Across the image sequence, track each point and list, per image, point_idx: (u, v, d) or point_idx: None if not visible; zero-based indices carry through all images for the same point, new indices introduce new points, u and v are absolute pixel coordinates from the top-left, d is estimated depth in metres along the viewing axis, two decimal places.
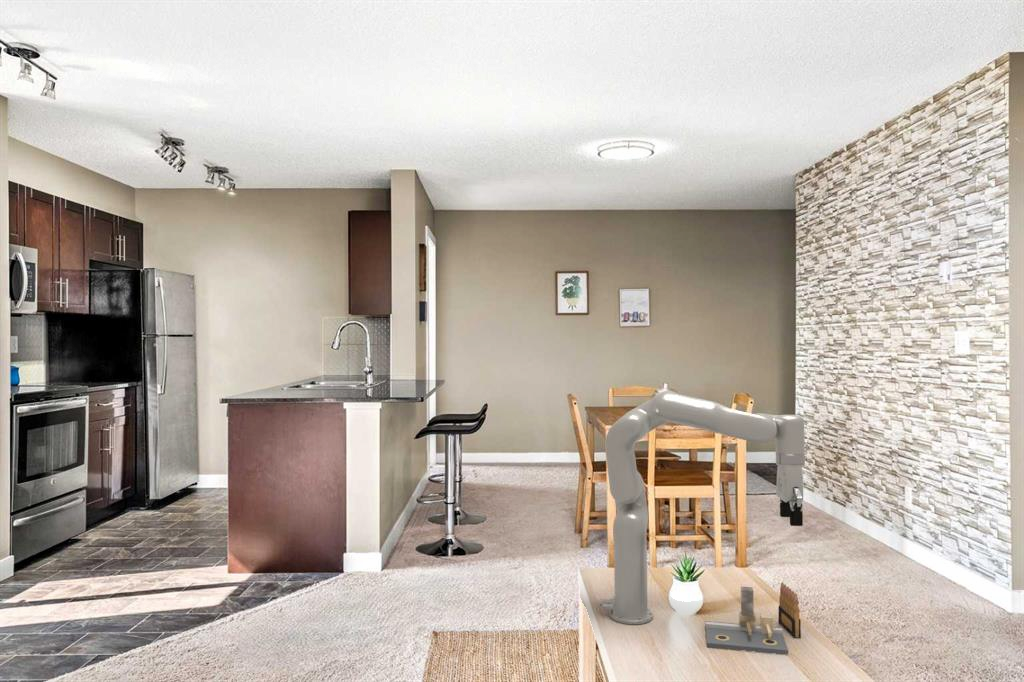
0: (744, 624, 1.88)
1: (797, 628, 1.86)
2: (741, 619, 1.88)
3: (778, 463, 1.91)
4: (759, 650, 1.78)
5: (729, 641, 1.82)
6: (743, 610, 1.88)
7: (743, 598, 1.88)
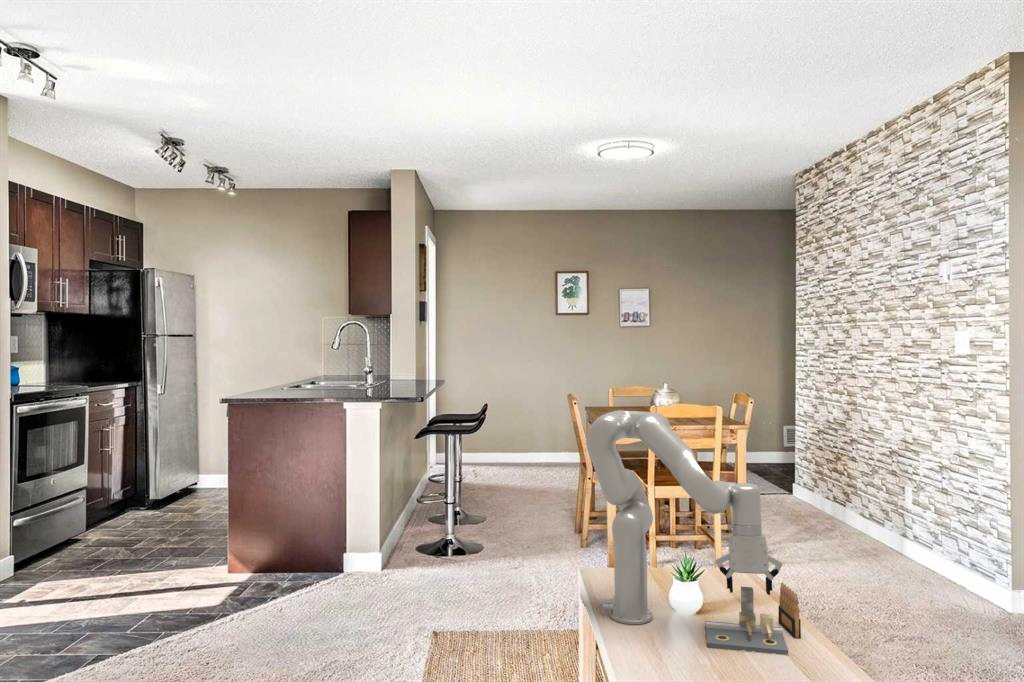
0: (744, 624, 1.88)
1: (797, 628, 1.86)
2: (741, 619, 1.88)
3: (753, 536, 1.86)
4: (759, 650, 1.78)
5: (729, 641, 1.82)
6: (743, 610, 1.88)
7: (743, 598, 1.88)
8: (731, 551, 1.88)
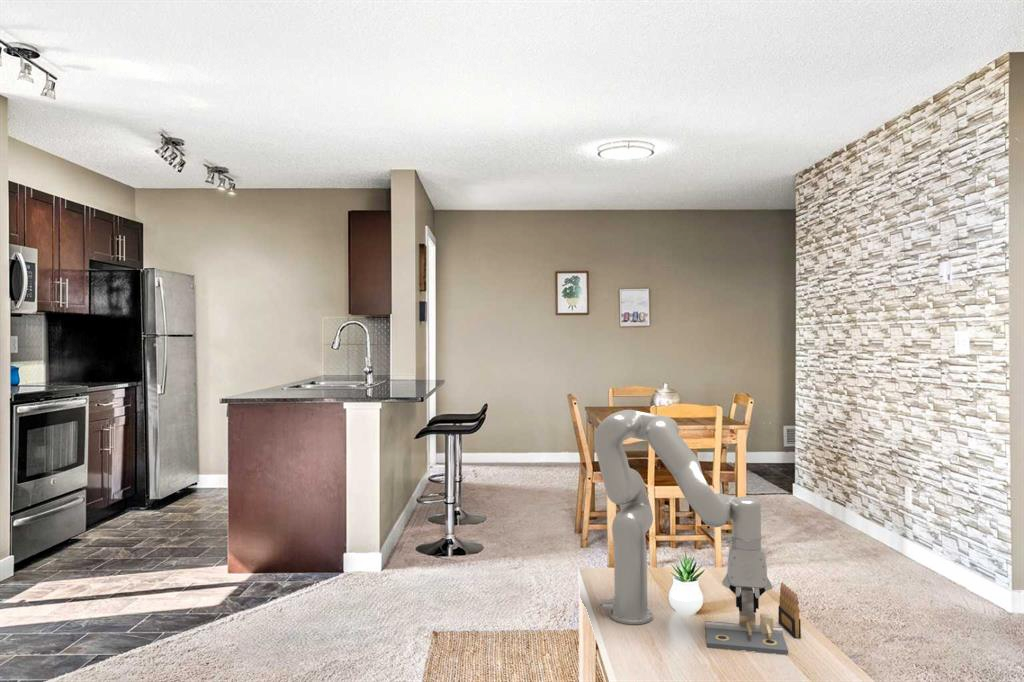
0: (744, 624, 1.88)
1: (797, 628, 1.86)
2: (741, 619, 1.88)
3: (752, 550, 1.86)
4: (759, 650, 1.78)
5: (729, 641, 1.82)
6: (743, 610, 1.88)
7: (743, 598, 1.88)
8: (730, 565, 1.88)
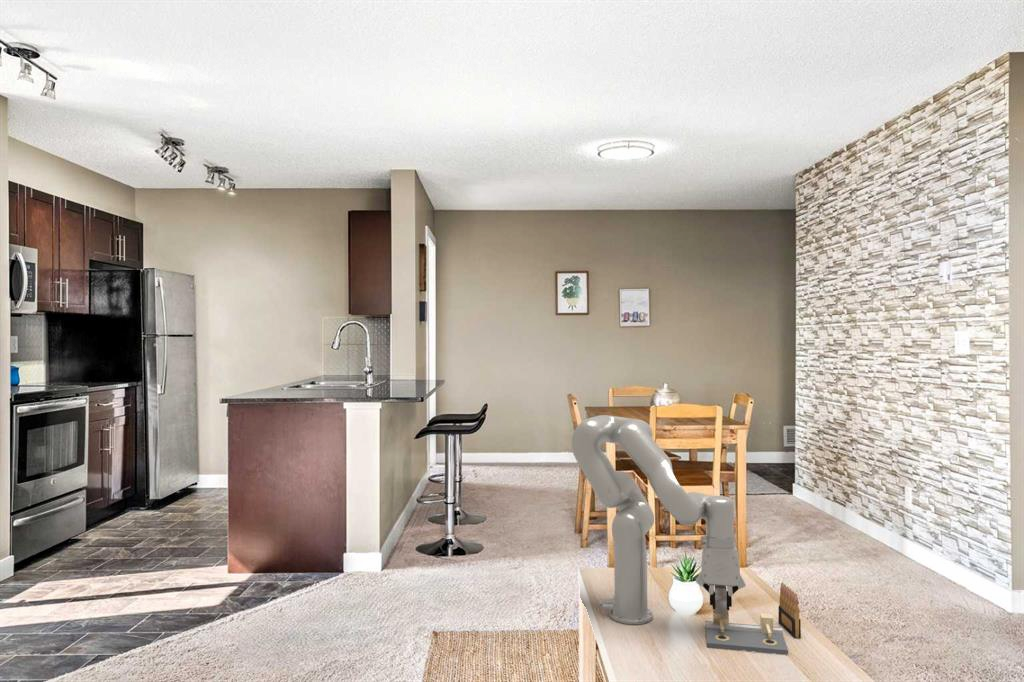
0: (717, 622, 1.90)
1: (797, 628, 1.86)
2: (714, 617, 1.90)
3: (725, 549, 1.87)
4: (759, 650, 1.78)
5: (729, 641, 1.82)
6: (716, 608, 1.90)
7: (716, 596, 1.90)
8: (703, 563, 1.90)
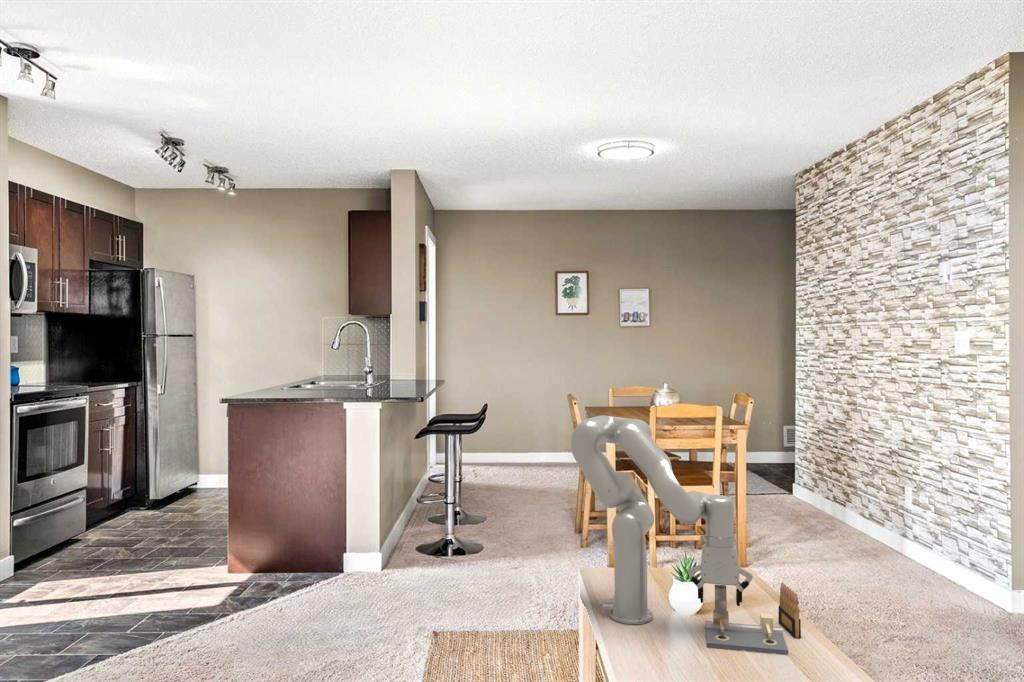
0: (717, 622, 1.90)
1: (797, 628, 1.86)
2: (714, 617, 1.90)
3: (725, 548, 1.87)
4: (759, 650, 1.78)
5: (729, 641, 1.82)
6: (716, 608, 1.90)
7: (716, 596, 1.90)
8: (703, 562, 1.90)
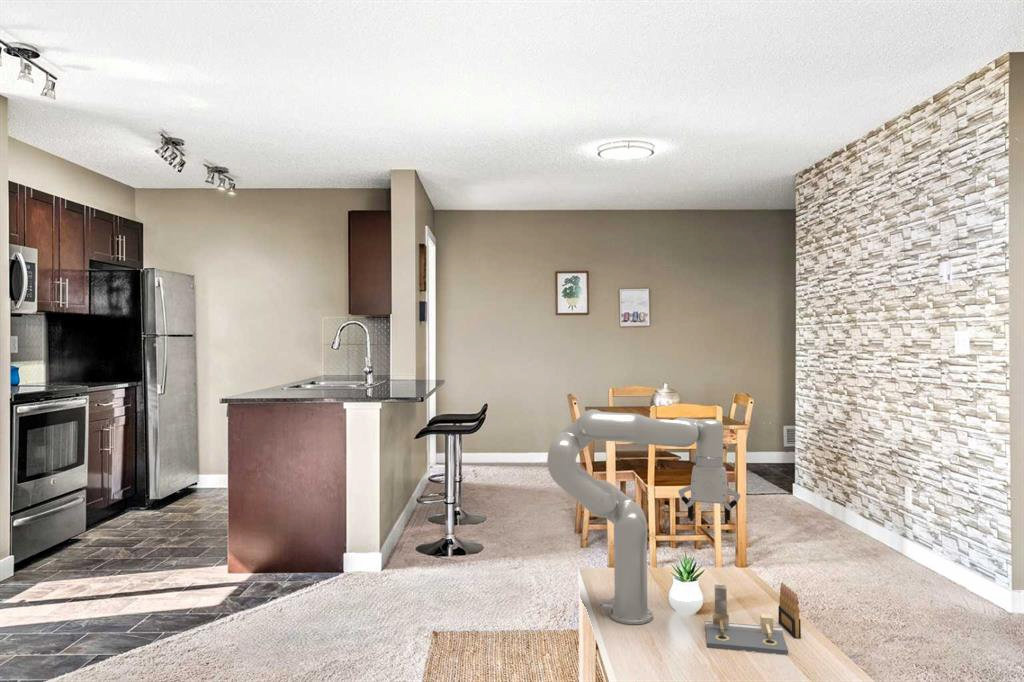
0: (717, 622, 1.90)
1: (797, 628, 1.86)
2: (714, 617, 1.90)
3: (713, 467, 1.96)
4: (759, 650, 1.78)
5: (729, 641, 1.82)
6: (716, 608, 1.90)
7: (716, 596, 1.90)
8: (692, 481, 1.99)
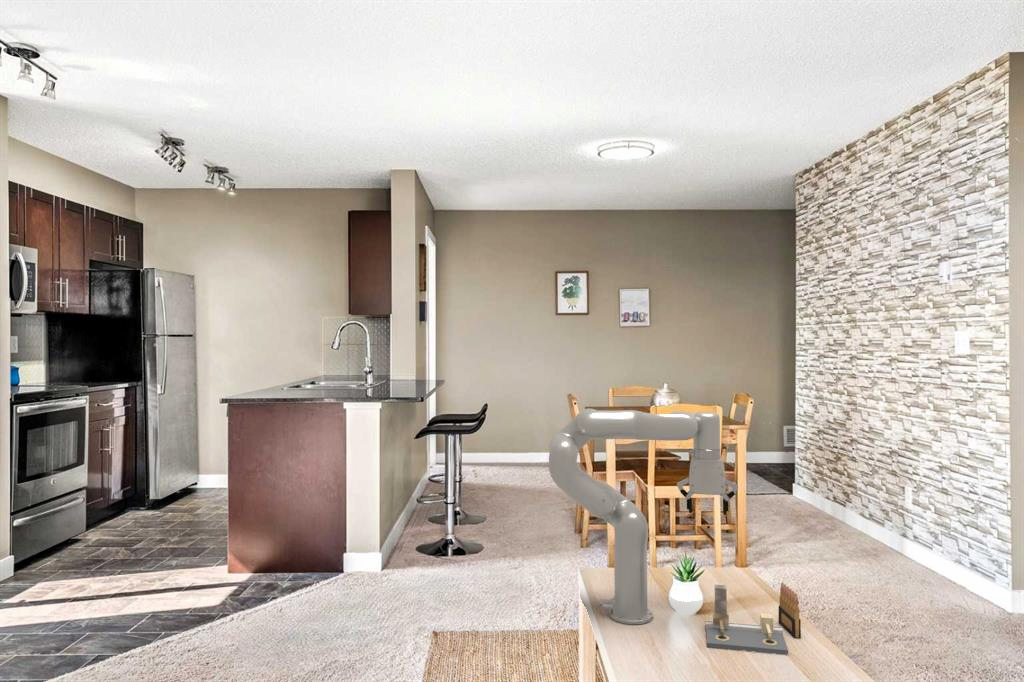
0: (717, 622, 1.90)
1: (797, 628, 1.86)
2: (714, 617, 1.90)
3: (711, 459, 1.99)
4: (759, 650, 1.78)
5: (729, 641, 1.82)
6: (716, 608, 1.90)
7: (716, 596, 1.90)
8: (691, 474, 2.01)
